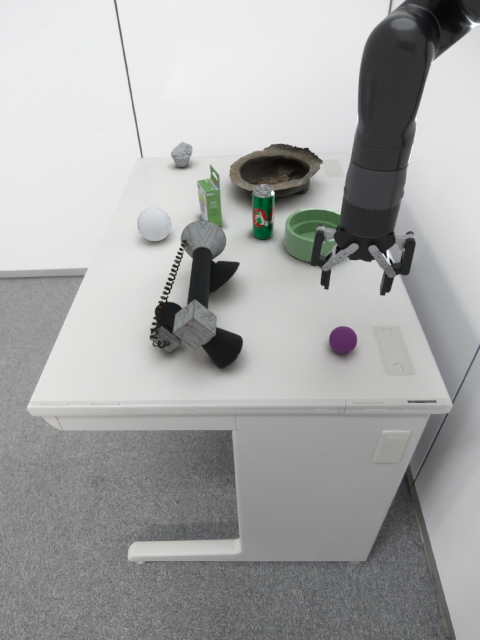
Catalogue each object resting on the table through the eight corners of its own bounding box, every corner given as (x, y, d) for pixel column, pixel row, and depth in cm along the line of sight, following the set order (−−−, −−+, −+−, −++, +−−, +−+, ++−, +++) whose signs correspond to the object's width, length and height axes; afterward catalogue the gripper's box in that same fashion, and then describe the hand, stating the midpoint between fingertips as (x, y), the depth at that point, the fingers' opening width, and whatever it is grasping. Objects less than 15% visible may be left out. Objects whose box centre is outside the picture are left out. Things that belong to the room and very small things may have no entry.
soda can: (267, 227, 109) (268, 181, 101) (277, 237, 106) (279, 190, 97) (248, 232, 107) (248, 186, 99) (258, 242, 104) (259, 195, 96)
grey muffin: (197, 167, 136) (195, 144, 131) (176, 172, 133) (174, 149, 129) (189, 160, 140) (186, 137, 135) (168, 165, 137) (165, 142, 133)
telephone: (196, 290, 100) (185, 393, 78) (153, 255, 94) (127, 357, 71) (245, 251, 93) (249, 351, 71) (203, 211, 87) (192, 307, 65)
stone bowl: (332, 180, 126) (335, 149, 119) (293, 226, 112) (295, 194, 105) (257, 162, 136) (256, 132, 129) (212, 202, 121) (209, 171, 115)
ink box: (199, 216, 114) (195, 166, 105) (214, 213, 115) (211, 163, 105) (207, 229, 109) (203, 178, 100) (222, 226, 110) (220, 175, 101)
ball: (179, 241, 105) (174, 211, 100) (148, 251, 102) (142, 221, 97) (165, 226, 110) (160, 197, 105) (135, 236, 107) (128, 206, 102)
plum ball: (355, 341, 80) (359, 322, 76) (354, 361, 76) (359, 341, 73) (328, 338, 80) (331, 318, 77) (326, 357, 77) (329, 337, 74)
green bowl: (348, 232, 106) (352, 210, 102) (346, 268, 96) (351, 244, 92) (288, 227, 109) (289, 205, 105) (280, 261, 98) (281, 238, 94)
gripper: (426, 184, 59) (399, 279, 70) (320, 177, 62) (310, 270, 73) (432, 212, 54) (402, 310, 65) (316, 202, 56) (305, 299, 67)
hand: (353, 289), depth 69 cm, fingers open, 8 cm apart
